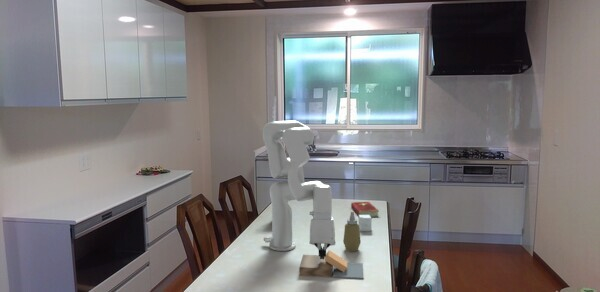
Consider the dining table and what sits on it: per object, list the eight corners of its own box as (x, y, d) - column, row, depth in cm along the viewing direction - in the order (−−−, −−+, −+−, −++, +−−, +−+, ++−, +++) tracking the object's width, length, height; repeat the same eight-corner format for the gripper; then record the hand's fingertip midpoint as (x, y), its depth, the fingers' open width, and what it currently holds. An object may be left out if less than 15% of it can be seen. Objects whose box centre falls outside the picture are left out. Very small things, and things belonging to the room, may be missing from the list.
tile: (324, 260, 166) (328, 255, 166) (325, 254, 172) (329, 249, 172) (343, 272, 166) (347, 267, 166) (344, 266, 172) (347, 261, 172)
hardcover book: (359, 217, 243) (359, 210, 243) (351, 208, 264) (351, 201, 264) (378, 217, 245) (378, 210, 244) (369, 207, 265) (369, 201, 265)
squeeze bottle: (347, 253, 188) (347, 215, 185) (340, 247, 195) (340, 210, 193) (363, 251, 190) (363, 213, 187) (356, 245, 197) (356, 209, 195)
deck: (299, 275, 165) (299, 267, 165) (303, 262, 178) (303, 254, 177) (331, 277, 163) (331, 268, 163) (333, 263, 176) (333, 255, 176)
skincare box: (369, 227, 224) (369, 214, 223) (371, 231, 218) (371, 217, 217) (358, 227, 224) (358, 214, 223) (360, 231, 218) (360, 217, 217)
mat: (332, 277, 163) (332, 276, 163) (334, 263, 177) (334, 262, 177) (363, 279, 161) (363, 277, 161) (362, 264, 175) (362, 263, 175)
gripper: (303, 217, 165) (303, 260, 167) (340, 218, 163) (340, 262, 165) (305, 211, 172) (305, 253, 174) (341, 212, 170) (340, 255, 172)
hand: (322, 257), depth 170 cm, fingers closed
